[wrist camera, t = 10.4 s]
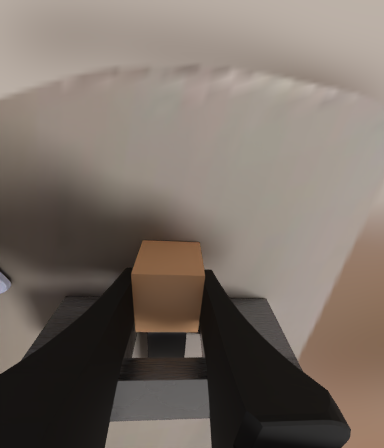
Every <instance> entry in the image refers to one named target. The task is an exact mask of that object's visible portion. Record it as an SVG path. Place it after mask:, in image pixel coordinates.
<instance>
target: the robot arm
mask: <svg viewBox="0 0 384 448" xmlns="http://www.w3.org/2000/svg"><path fill="white" fill-rule="evenodd" d="M132 270H133V268H126V269H125V270H124V271H123V273H122V274H121V275H120V276H119V277H118V278H117V280H116V281H115V282H114V283H113V284H112V285H111V286H110V287H109V288H108V289H107V291H106V292H105V293H104V294H103V295H102V296H101V297H100V298H99V299H98V300H97V301H96V302H95V303H94V304H93V305H92V306H91V307H90V308H89V309H88V310H86V311H85V312H84V313H83V314H82V315H81V316H80V317H79V318H78V319H76V320H75V321H74V322H73V323H72V324H70V325H69V326H68V327H67V328H66V329H64V330H63V331H62V332H60V333H59V334H58V335H57V336H55V337H54V338H53V339H51V340H50V341H49V342H47V343H46V344H45V345H43V346H42V347H41V348H39V349H38V350H36V351H35V352H33V353H32V354H30V355H29V356H28V357H26V358H25V359H23V360H22V361H20V362H19V363H17V364H16V365H14V366H13V367H11V368H9V369H8V370H6V371H5V372H3V373H2V374H0V448H105V443H106V438H107V433H108V427H109V422H110V417H111V412H112V407H113V402H114V397H115V392H116V388H117V383H118V378H119V374H120V369H121V365H122V361H123V357H124V354H125V351H126V347H127V344H128V341H129V338H130V334H131V331H132V328H133V324H134V321H135V319H134V306H133V293H132V280H131V273H132ZM204 272H205V281H204V289H203V296H202V304H201V311H200V319H199V322H200V328H201V334H202V340H203V347H204V353H205V360H206V369H207V382H208V395H209V410H210V426H211V442H212V448H341V447H342V446H343V445H344V444H345V443H346V442H347V441H348V440H349V438H350V431H351V429H350V427H349V426H348V424H347V422H346V420H345V419H344V417H343V415H342V413H341V411H340V409H339V408H338V406H337V404H336V403H335V401H334V400H333V398H332V397H331V395H330V393H329V392H328V390H326V389H325V388H324V387H322V386H321V385H320V384H318V383H317V382H316V381H314V380H313V379H312V378H310V377H309V376H308V375H306V374H305V373H304V372H303V371H301V370H300V369H299V368H297V367H296V366H295V365H294V364H293V363H291V362H290V361H289V360H288V359H287V358H285V357H284V356H283V355H282V354H281V353H280V352H279V351H277V350H276V349H275V348H274V347H273V346H272V345H271V344H270V343H269V342H268V341H267V340H266V339H265V338H263V336H262V335H261V334H260V333H259V332H258V331H257V330H256V329H255V328H254V327H253V326H252V325H251V324H250V323H249V322H248V321H247V319H246V318H245V317H244V316H243V315H242V314H241V312H240V311H239V310H238V309H237V307H236V306H235V305H234V303H233V302H232V301H231V299H230V298H229V296H228V295H227V294H226V292H225V291H224V289H223V288H222V286H221V285H220V283H219V282H218V280H217V278H216V276H215V275H214V273H213V271H212V270H204ZM10 287H11V282H10V281H9V280H8V279H7V278H6V277H5V276H4V275H3V274H2V273H1V272H0V293H3V292H5V291H7V290H8V289H9V288H10Z"/></svg>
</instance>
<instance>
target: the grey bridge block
mask: <svg viewBox="0 0 384 448" xmlns="http://www.w3.org/2000/svg"><path fill="white" fill-rule="evenodd" d="M99 298H100V297H80V296H66V297H65V298H64V300H63V301H62V303H61V304H60V305H59V307H58V308H57V310H56V311H55V313H54V314H53V315H52V317H51V318H50V320H49V321H48V323H47V324H46V325H45V327H44V328H43V330H42V331H41V333H40V334H39V336H38V337H37V338H36V340H35V341H34V343H33V344H32V346H31V347H30V348H29V350H28V351H27V353H26V354H25V356H24V357H23V359H25V358H26V357H28V356H29V355H30V354H32V353H33V352H35V351H36V350H38V349H39V348H41V347H42V346H43V345H45V344H46V343H47V342H49V341H50V340H51V339H53V338H54V337H55V336H57V335H58V334H59V333H60V332H62V331H63V330H64V329H66V328H67V327H68V326H69V325H70V324H72V323H73V322H74V321H75V320H76V319H78V318H79V317H80V316H81V315H82V314H83V313H84V312H85V311H86V310H88V309H89V308H90V307H91V306H92V305H93V304H94V303H95V302H96V301H97V300H98V299H99ZM231 301H232V302H233V303H234V305H235V306H236V307H237V309H238V310H239V311H240V312H241V314H242V315H243V316H244V317H245V318H246V319H247V321H248V322H249V323H250V324H251V325H252V326H253V327H254V328H255V329H256V330H257V331H258V332H259V333H260V334H261V335H262V336H263V338H265V339H266V340H267V341H268V342H269V343H270V344H271V345H272V346H273V347H274V348H275V349H276V350H277V351H279V352H280V353H281V354H282V355H283V356H284V357H285V358H287V359H288V360H289V361H290V362H291V363H293V364H294V365H295V366H296V367H297V368H299V369H300V370H301V371H302V369H301V367H300V365H299V363H298V361H297V359H296V357H295V355H294V353H293V351H292V349H291V347H290V345H289V343H288V341H287V339H286V337H285V335H284V333H283V331H282V329H281V327H280V325H279V323H278V321H277V319H276V317H275V315H274V313H273V311H272V309H271V307H270V305H269V303H268V301H267V299H231ZM136 336H137V332H135V321H134V324H133V328H132V331H131V334H130V338H129V341H128V344H127V347H126V351H125V354H124V357H123V361H122V365H121V369H120V374H119V378H118V383H117V388H116V392H115V397H114V402H113V407H112V412H111V417H110V422H111V421H141V420H171V419H201V418H210V410H209V395H208V382H207V369H206V360H205V353H204V347H203V340H202V334H201V333H200V337H201V348H202V357H200V358H132V354H133V350H134V345H135V341H136ZM23 359H22V360H23ZM22 360H21V361H22Z"/></svg>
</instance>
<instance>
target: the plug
mask: <svg viewBox="0 0 384 448" xmlns="http://www.w3.org/2000/svg"><path fill="white" fill-rule="evenodd" d="M131 280H132V293H133V306H134V319H135V332H147V334H148V358H184V354H185V344H186V333H187V332H198V326H199V319H200V311H201V304H202V296H203V289H204V281H205V272H204V265H203V259H202V253H201V247H200V242H175V241H149V240H143V241H142V244H141V247H140V250H139V253H138V255H137V258H136V261H135V264H134V267H133V270H132V273H131Z"/></svg>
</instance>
